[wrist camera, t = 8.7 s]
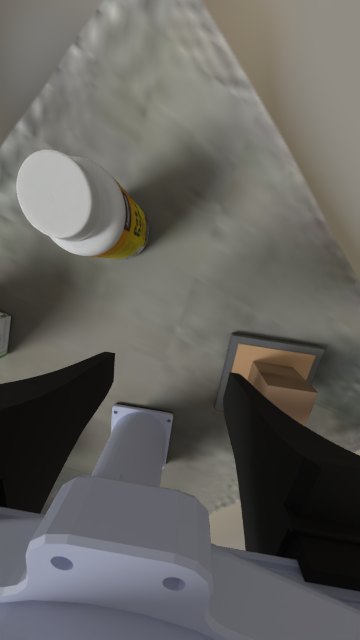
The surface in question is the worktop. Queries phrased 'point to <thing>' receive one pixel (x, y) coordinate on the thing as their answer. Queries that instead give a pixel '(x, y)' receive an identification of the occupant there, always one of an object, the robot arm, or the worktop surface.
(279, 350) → the coaster
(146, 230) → the supplement bottle
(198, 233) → the worktop surface
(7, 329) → the syrup box
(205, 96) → the worktop surface
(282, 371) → the cube
